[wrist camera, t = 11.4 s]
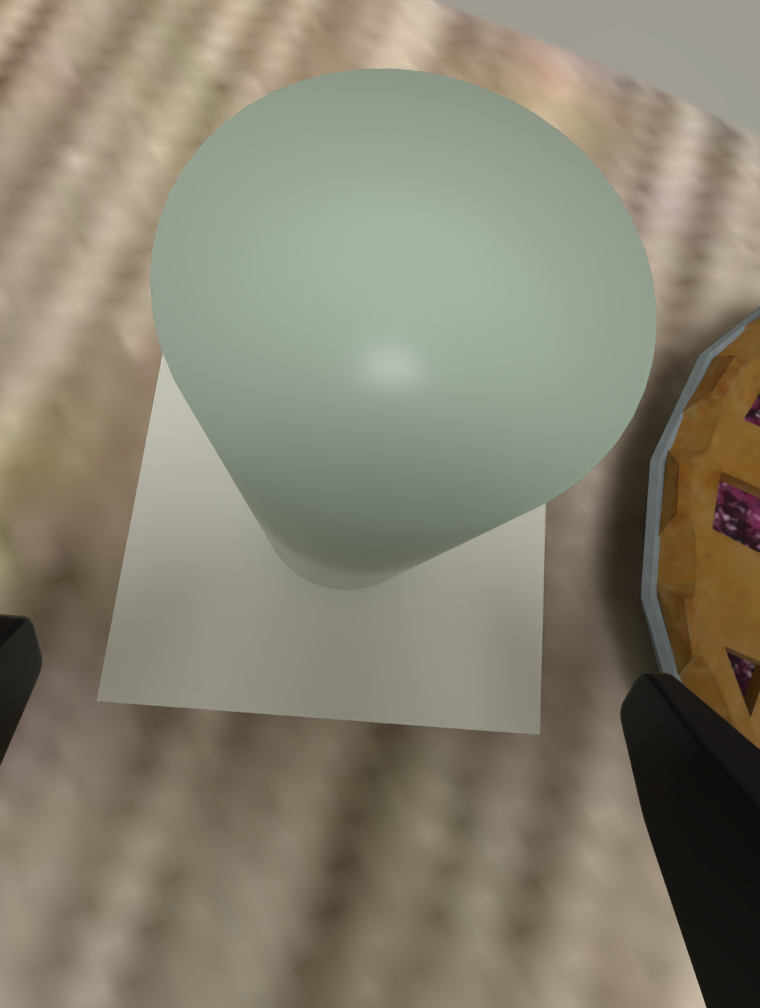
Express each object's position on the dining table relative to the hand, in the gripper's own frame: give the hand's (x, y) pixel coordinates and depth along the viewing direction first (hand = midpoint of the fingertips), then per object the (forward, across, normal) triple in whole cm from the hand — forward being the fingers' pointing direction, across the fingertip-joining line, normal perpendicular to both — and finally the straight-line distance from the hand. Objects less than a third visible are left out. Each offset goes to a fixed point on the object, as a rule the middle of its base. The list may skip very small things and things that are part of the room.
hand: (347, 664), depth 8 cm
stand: (+10, 0, +4) cm, 11 cm away
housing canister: (+8, 0, +2) cm, 8 cm away
